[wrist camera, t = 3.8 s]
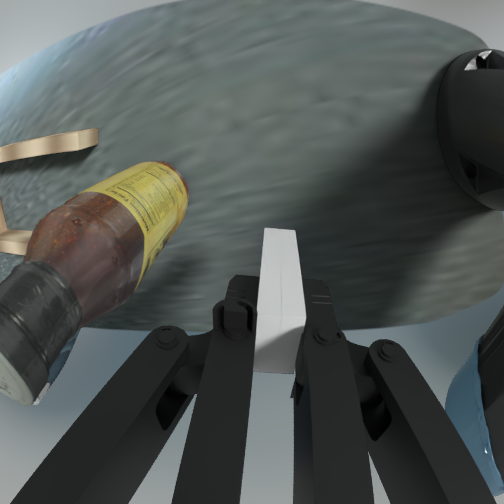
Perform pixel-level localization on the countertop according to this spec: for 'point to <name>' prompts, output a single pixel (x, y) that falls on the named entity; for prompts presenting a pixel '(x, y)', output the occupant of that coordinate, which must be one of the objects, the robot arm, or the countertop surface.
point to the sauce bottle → (83, 268)
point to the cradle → (63, 142)
